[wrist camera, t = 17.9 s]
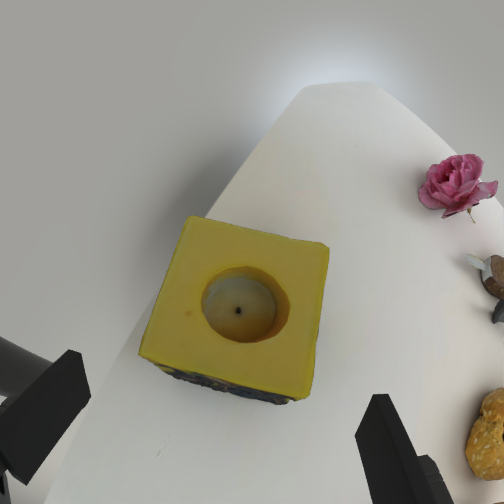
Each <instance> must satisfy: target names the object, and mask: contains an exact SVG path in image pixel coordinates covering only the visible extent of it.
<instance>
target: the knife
mask: <svg viewBox="0 0 504 504" xmlns="http://www.w3.org/2000/svg"><path fill="white" fill-rule="evenodd" d="M496 322H504V300H502V299H501V300H500V301H499V302H498V303H497V305H496V307H495V310H494V316H493V323H494V324H495V323H496Z"/></svg>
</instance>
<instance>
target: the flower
mask: <svg viewBox="0 0 504 504" xmlns="http://www.w3.org/2000/svg"><path fill="white" fill-rule="evenodd" d="M483 164H484V162H483V161H482V160H481V159H480V158H479V157H478V156H476V155H475V154H466V155H457V156H456V155H455V156H451V157H449V158H447V159H446V160H443V161H442V162H441V163H440V164H439V165H438V164H434V165H432V166H431V167H430V168H429V170H428V171H427V181H426V182H425V183H422V187H421V188H420V189H419V199H420V201H421V202H422V203H423V204H424V205H426V206H427V207H428V208H431V209H443V208H446V209H447V210H446V211H445V212H444V214H443V216H442V217H441V218H447V217H449V216H451V215H454V214H456V213H458V212H461V211H464V210H466V209H467V211H468V213H469V214H470V212H471V207H473V206H475V205H478V204H480V203H479V201H480V200H481V199H489V198H492V197H493V196H494V195H495V194H496V192H497V187H498V186H497V185H498V181H494V182H489V183H487V182H480V183H479V180H478V178H479V177H480V176H481V173H482V167H483ZM470 216H471V215H470ZM471 218H472V217H471ZM472 220H473V219H472ZM473 221H474V220H473ZM474 223H475V222H474Z"/></svg>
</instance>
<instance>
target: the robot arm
mask: <svg viewBox="0 0 504 504" xmlns="http://www.w3.org/2000/svg"><path fill="white" fill-rule="evenodd" d="M90 398H91V394H90V390H89V386H88V382H87V378H86V374H85V369H84V364H83V360H82V355H81V353H79V352H75V351H73V350H67V351H66V352H65V353H64V354H63V355H62V356H61V357H60V358H59V359H58V360H57V361H55V362H54V363H53V364H52V365H51V366H50V367H49V368H48V369H47V370H46V371H45V372H44V373H43V374H42V375H41V376H40V377H39V378H38V379H36V380H35V381H34V382H33V383H32V384H31V385H30V386H29V387H28V388H27V389H26V390H25V391H24V392H23V393H22V394H19V393H15V394H13V395H11V396H9V397H7V398H6V399H5V400H4V401H3V402H2V403H1V405H0V504H11V501H10V495H9V489H8V482H7V476H6V474H5V471H6V470H7V469H8V470H9V472H10V473H11V475H12V476H13V477H14V478H16V479H17V480H19V481H20V482H22V483H23V484H25V485H26V486H27V484H28V483H29V481H30V480H31V478H32V477H33V475H34V474H35V473H36V471H37V470H38V468H39V467H40V466H41V464H42V463H43V461H44V460H45V458H46V457H47V456H48V454H49V453H50V452H51V450H52V449H53V447H54V446H55V445H56V443H57V442H58V440H59V439H60V438H61V437H62V435H63V434H64V432H65V431H66V430H67V428H68V427H69V426H70V424H71V423H72V422H73V420H74V419H75V418H76V416H77V415H78V414H79V412H80V411H81V410H82V408H83V407H84V406H85V404H86V403H87V402H88V400H89V399H90ZM355 438H356V442H357V446H358V449H359V453H360V457H361V460H362V464H363V468H364V471H365V475H366V479H367V483H368V487H369V491H370V495H371V499H372V503H373V504H454V503H453V500H452V498H451V496H450V493H449V491H448V489H447V487H446V485H445V482H444V481H443V478H442V476H441V474H439V472H440V471H439V469H438V467H437V465H436V463H435V462H434V461H433V460H432V459H431V458H430V457H429V456H428V455H423V456H417V454H416V452H415V450H414V447H413V445H412V443H411V441H410V439H409V436H408V434H407V432H406V430H405V428H404V426H403V424H402V421H401V419H400V417H399V415H398V413H397V411H396V409H395V407H394V405H393V403H392V401H391V399H390V397H389V395H388V394H373V396H372V398H371V400H370V403H369V405H368V407H367V410H366V412H365V414H364V416H363V419H362V421H361V423H360V425H359V427H358V429H357V432H356V434H355Z"/></svg>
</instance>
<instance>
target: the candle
mask: <svg viewBox="0 0 504 504" xmlns="http://www.w3.org/2000/svg"><path fill="white" fill-rule="evenodd" d="M328 262H329V247H327V246H325V245H324V244H322V243H318V242H311V241H304V240H296V239H290V238H287V237H283V236H280V235H276V234H271V233H265V232H261V231H256V230H252V229H247V228H243V227H239V226H235V225H231V224H228V223H224V222H219V221H215V220H211V219H206V218H202V217H198V216H189V217H188V218H187V220H186V222H185V225H184V227H183V230H182V233H181V236H180V239H179V241H178V243H177V246H176V248H175V251H174V254H173V257H172V260H171V263H170V265H169V268H168V271H167V273H166V276H165V279H164V282H163V284H162V287H161V290H160V292H159V295H158V298H157V300H156V303H155V306H154V309H153V311H152V314H151V317H150V320H149V323H148V325H147V328H146V330H145V333H144V335H143V338H142V341H141V345H140V349H139V353H138V355H139V356H141V357H143V358H145V359H147V360H148V361H149V362H152V363H153V364H154V365H155V366H157V367H159V368H160V369H161V370H162V371H164V372H165V373H167V374H169V375H172V376H173V377H174V378H177V379H182V380H184V381H189V382H190V383H193V384H197V385H201V386H202V387H203V386H205V387H209V388H212V389H213V390H216V391H222V392H229V393H231V394H234V395H237V396H240V397H244V398H248V399H257V400H261V401H265V402H271V403H273V404H275V405H282V404H283V405H284V404H287V403H288V402H289V400H293V401H298V400H301V399H305V398H306V397H308V396H309V395H310V390H311V386H312V381H313V375H314V366H315V347H316V341H317V337H318V330H319V322H320V315H321V308H322V300H323V291H324V285H325V280H326V275H327V269H328Z"/></svg>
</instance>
